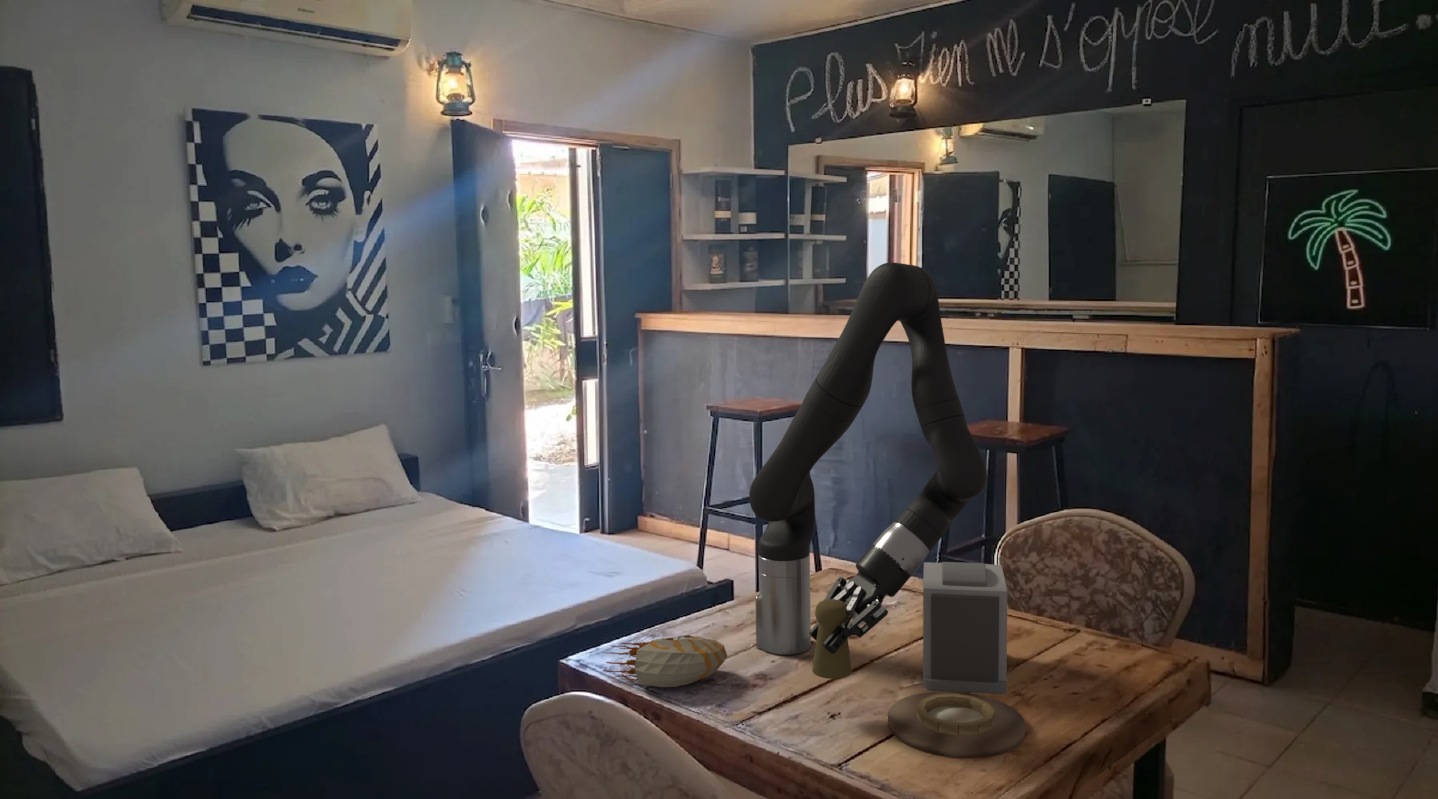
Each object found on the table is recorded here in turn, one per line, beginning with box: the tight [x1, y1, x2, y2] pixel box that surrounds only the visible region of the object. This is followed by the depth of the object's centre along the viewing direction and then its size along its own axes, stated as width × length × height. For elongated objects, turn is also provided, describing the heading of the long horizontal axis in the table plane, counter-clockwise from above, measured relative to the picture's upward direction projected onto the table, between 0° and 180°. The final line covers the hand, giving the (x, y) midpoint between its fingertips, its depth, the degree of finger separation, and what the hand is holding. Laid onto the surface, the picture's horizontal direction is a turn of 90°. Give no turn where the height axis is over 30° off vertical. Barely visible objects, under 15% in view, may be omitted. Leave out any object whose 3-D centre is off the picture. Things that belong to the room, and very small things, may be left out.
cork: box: [811, 599, 853, 680], centre depth 158 cm, size 6×6×11 cm
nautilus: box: [601, 634, 728, 688], centre depth 174 cm, size 8×22×15 cm
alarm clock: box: [922, 561, 1008, 695], centre depth 174 cm, size 18×13×18 cm
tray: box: [887, 690, 1027, 759], centre depth 154 cm, size 20×20×3 cm
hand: (820, 643), depth 157 cm, fingers closed on cork, 4 cm apart
